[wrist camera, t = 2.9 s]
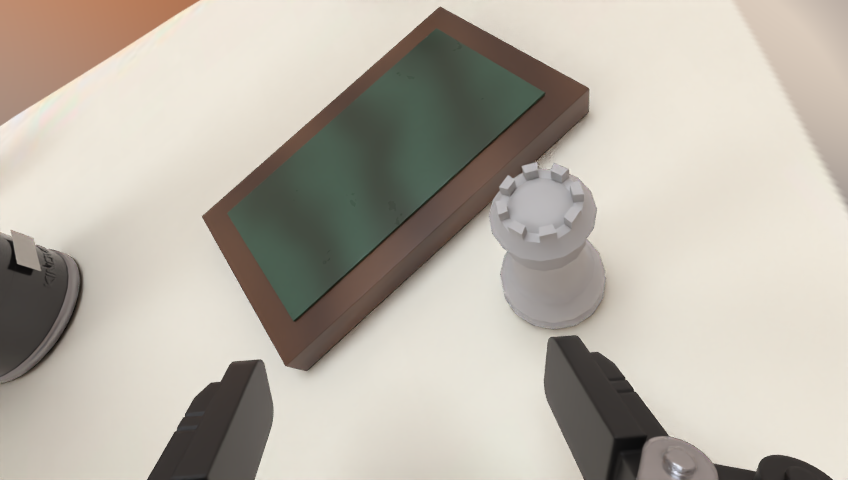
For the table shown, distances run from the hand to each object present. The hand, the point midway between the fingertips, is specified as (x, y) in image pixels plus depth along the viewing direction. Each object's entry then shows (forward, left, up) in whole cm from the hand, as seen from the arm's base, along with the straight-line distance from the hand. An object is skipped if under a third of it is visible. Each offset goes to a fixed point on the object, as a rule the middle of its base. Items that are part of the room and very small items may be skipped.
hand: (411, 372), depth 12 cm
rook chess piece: (+6, +1, -8) cm, 10 cm away
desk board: (+4, +12, -8) cm, 15 cm away
